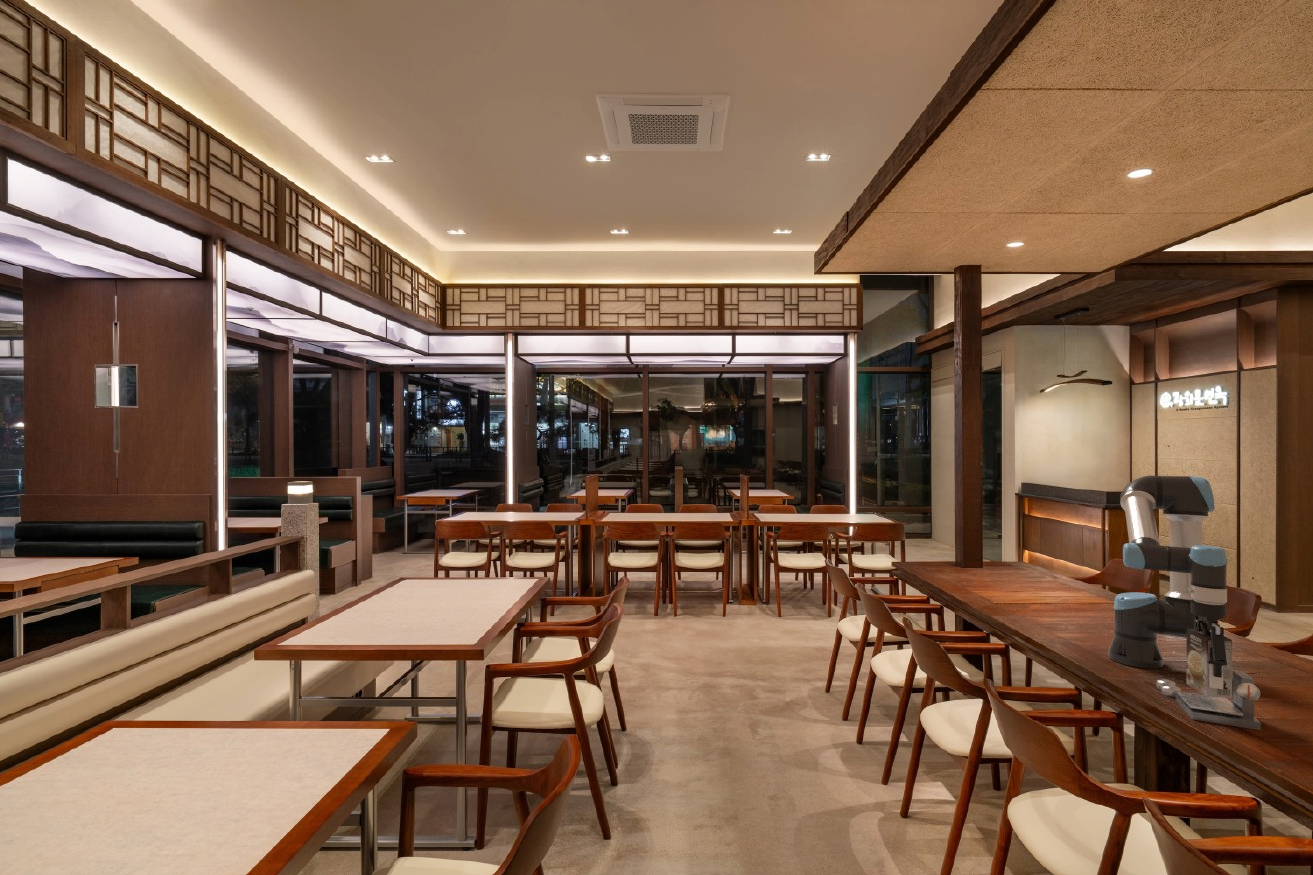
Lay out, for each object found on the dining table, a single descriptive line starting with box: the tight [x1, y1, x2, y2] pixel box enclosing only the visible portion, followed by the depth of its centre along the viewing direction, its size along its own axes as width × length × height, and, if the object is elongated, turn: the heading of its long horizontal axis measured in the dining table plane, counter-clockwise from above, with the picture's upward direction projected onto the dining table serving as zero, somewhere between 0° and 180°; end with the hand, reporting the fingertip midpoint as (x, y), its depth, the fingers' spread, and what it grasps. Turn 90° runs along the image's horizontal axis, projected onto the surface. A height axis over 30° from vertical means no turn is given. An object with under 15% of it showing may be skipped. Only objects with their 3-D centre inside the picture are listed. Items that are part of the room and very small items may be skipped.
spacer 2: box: [1161, 684, 1182, 699], centre depth 182 cm, size 4×4×2 cm
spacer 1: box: [1156, 678, 1176, 691], centre depth 187 cm, size 4×4×2 cm
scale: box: [1175, 670, 1262, 731], centre depth 169 cm, size 14×15×12 cm
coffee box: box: [1186, 629, 1233, 699], centre depth 170 cm, size 9×6×16 cm
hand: (1208, 681), depth 170 cm, fingers closed on coffee box, 10 cm apart
